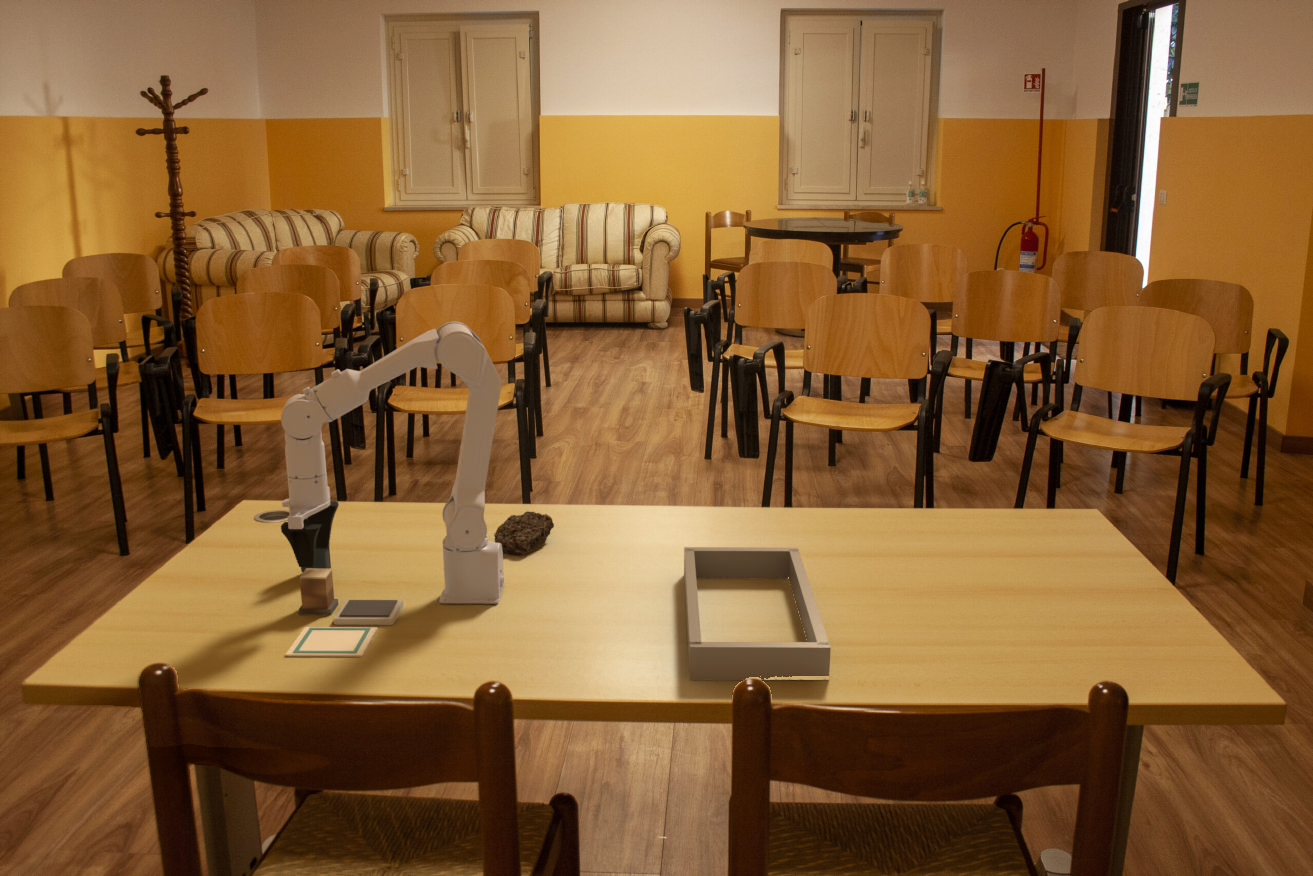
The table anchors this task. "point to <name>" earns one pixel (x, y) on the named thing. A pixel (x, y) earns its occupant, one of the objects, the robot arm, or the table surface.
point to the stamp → (317, 592)
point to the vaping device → (321, 559)
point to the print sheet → (332, 641)
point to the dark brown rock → (523, 532)
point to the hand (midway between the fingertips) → (314, 557)
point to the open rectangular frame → (753, 656)
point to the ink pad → (368, 612)
